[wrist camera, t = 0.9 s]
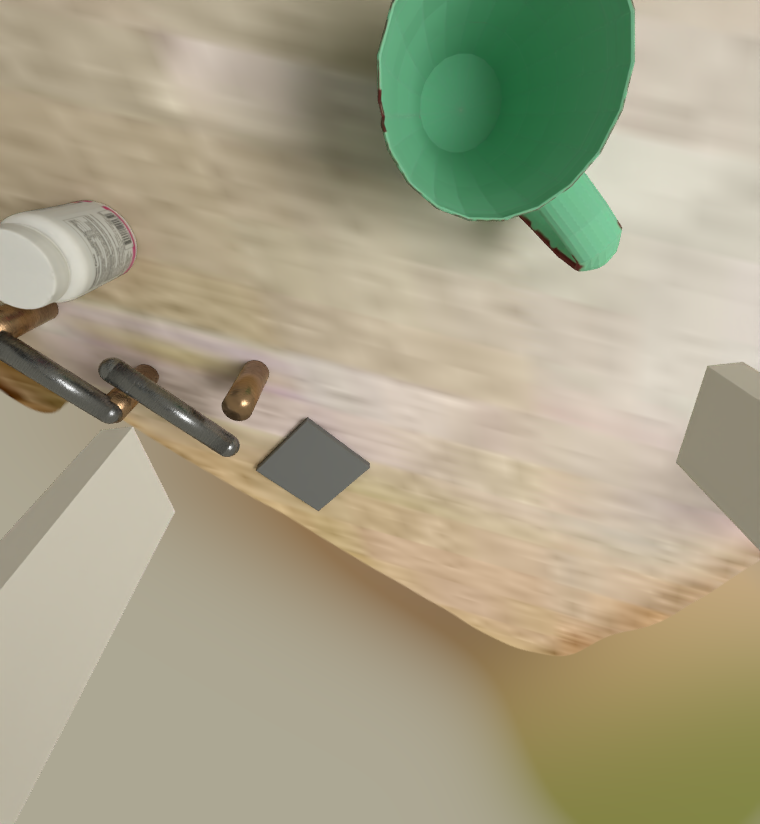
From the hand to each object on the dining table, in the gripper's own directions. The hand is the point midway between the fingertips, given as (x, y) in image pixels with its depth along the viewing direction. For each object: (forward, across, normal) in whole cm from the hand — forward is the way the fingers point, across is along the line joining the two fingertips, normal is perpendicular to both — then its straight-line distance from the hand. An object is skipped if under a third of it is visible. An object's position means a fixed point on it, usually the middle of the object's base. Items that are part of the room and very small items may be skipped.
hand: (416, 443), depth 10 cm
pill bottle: (+23, -18, +2) cm, 29 cm away
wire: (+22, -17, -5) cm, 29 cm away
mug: (+22, +7, +5) cm, 24 cm away
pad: (+22, -8, -18) cm, 29 cm away
